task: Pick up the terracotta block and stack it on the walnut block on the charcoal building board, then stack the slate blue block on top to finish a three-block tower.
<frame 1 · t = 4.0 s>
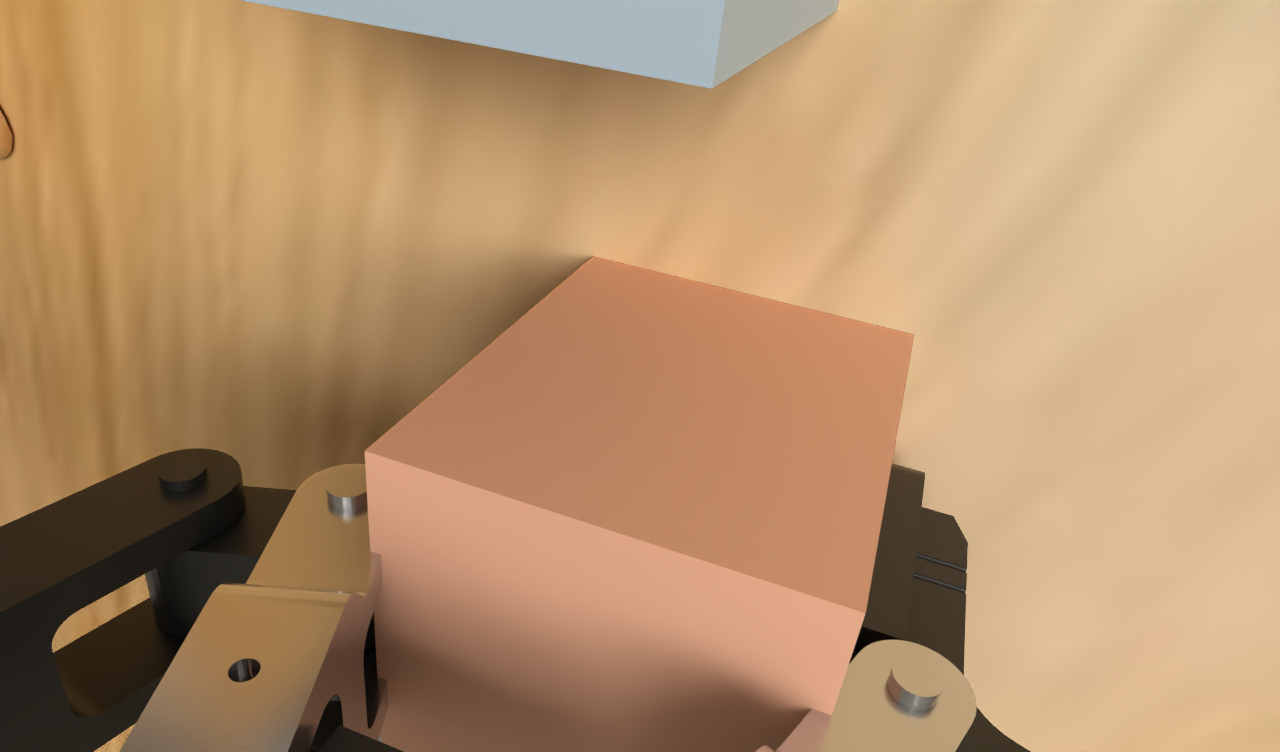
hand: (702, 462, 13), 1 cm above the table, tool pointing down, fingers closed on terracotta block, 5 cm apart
terracotta block: (720, 431, 14), on the table, touching gripper
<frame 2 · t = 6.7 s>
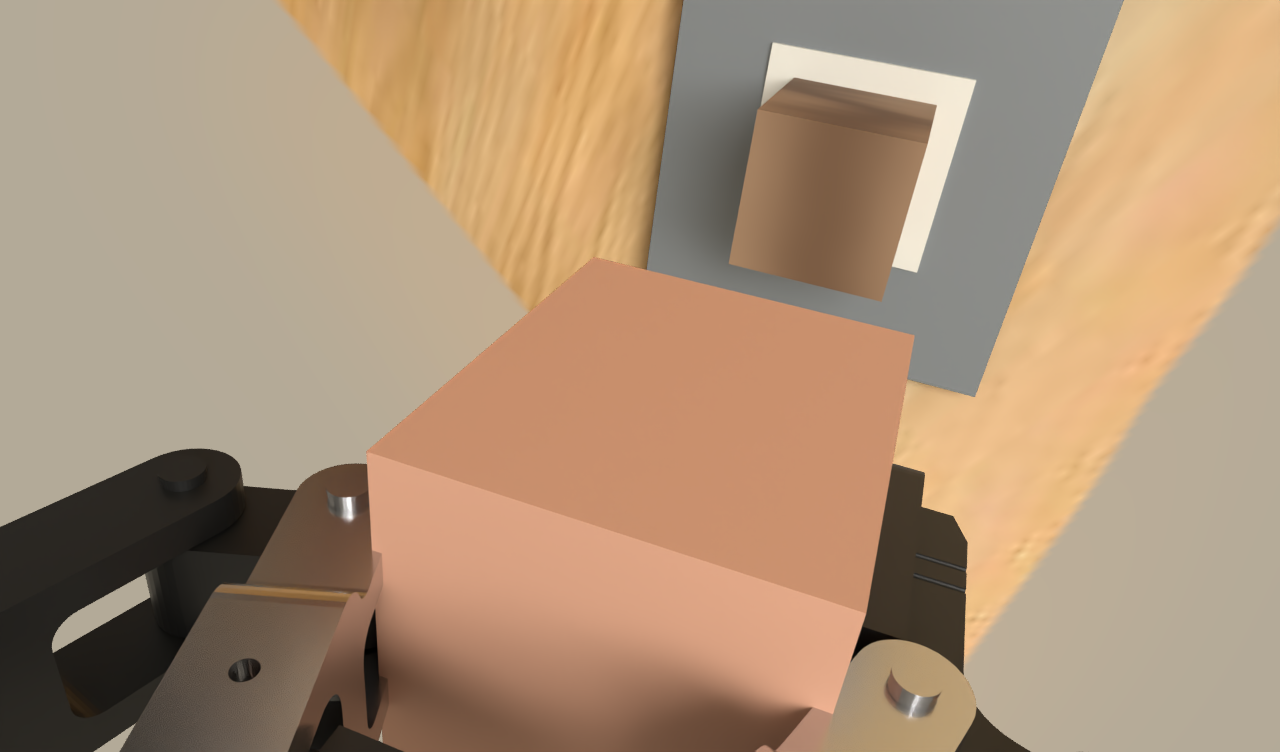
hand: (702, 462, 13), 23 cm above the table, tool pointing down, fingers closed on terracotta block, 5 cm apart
walnut block: (847, 161, 31), point 1 cm above the table, touching building board
building board: (851, 152, 33), on the table
terracotta block: (720, 431, 14), point 22 cm above the table, touching gripper
when the fingers open (10 cm above the table, at t = 9.6 s): terracotta block drops 1 cm, resting on walnut block.
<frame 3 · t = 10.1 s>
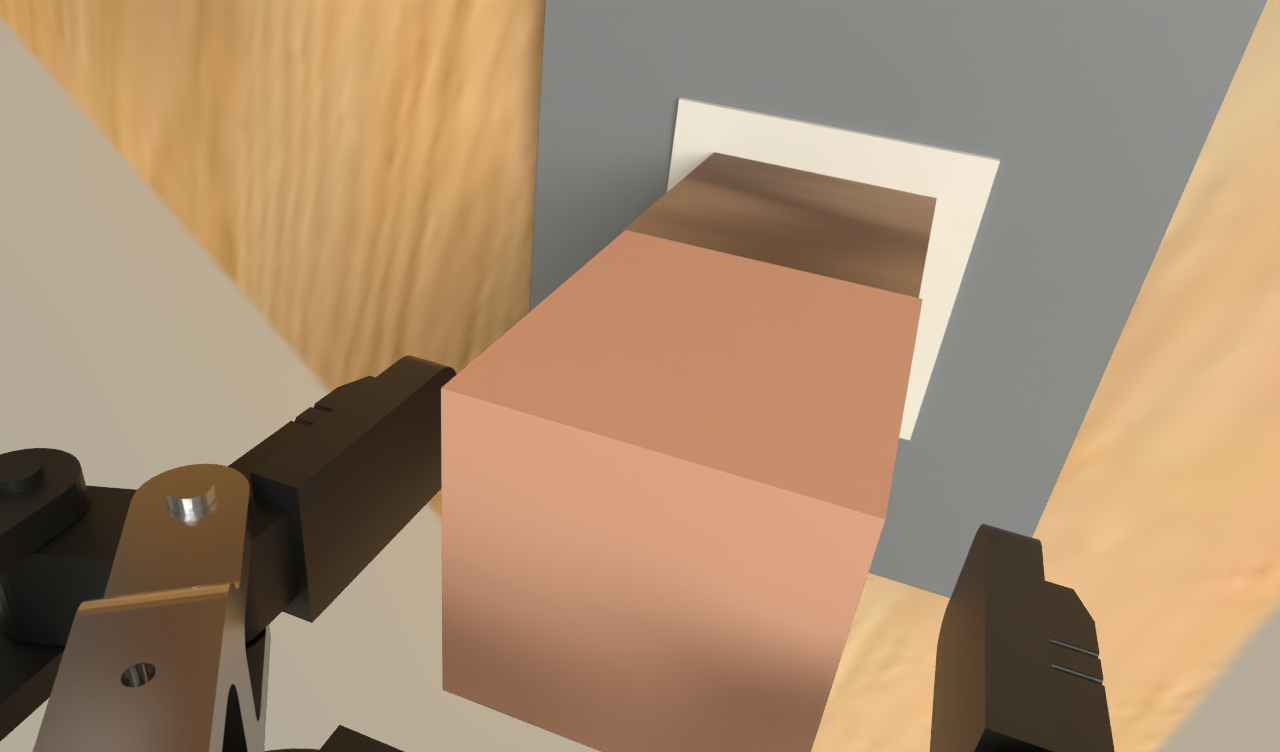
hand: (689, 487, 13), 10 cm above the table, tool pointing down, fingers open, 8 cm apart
walnut block: (799, 277, 20), point 1 cm above the table, touching building board, terracotta block
building board: (809, 258, 22), on the table
terracotta block: (742, 392, 15), point 7 cm above the table, touching walnut block
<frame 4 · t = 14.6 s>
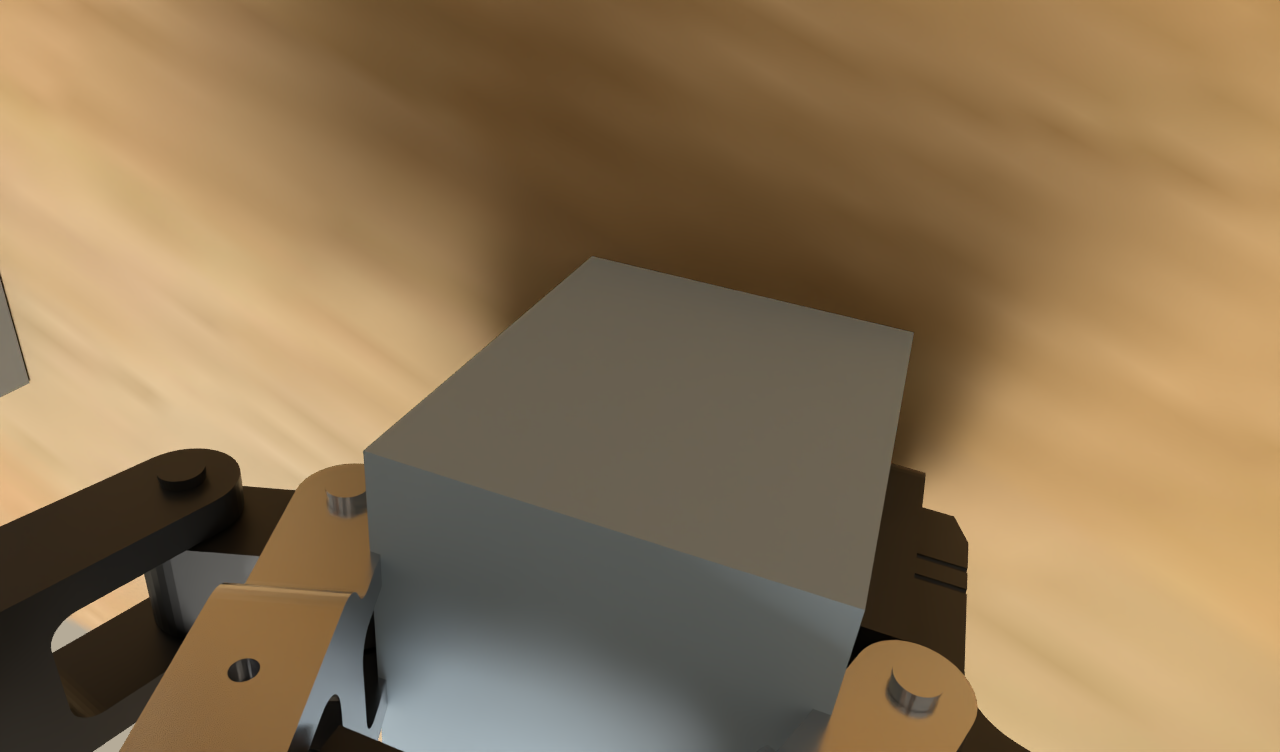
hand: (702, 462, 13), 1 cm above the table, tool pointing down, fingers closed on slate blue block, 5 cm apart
slate blue block: (720, 430, 14), on the table, touching gripper
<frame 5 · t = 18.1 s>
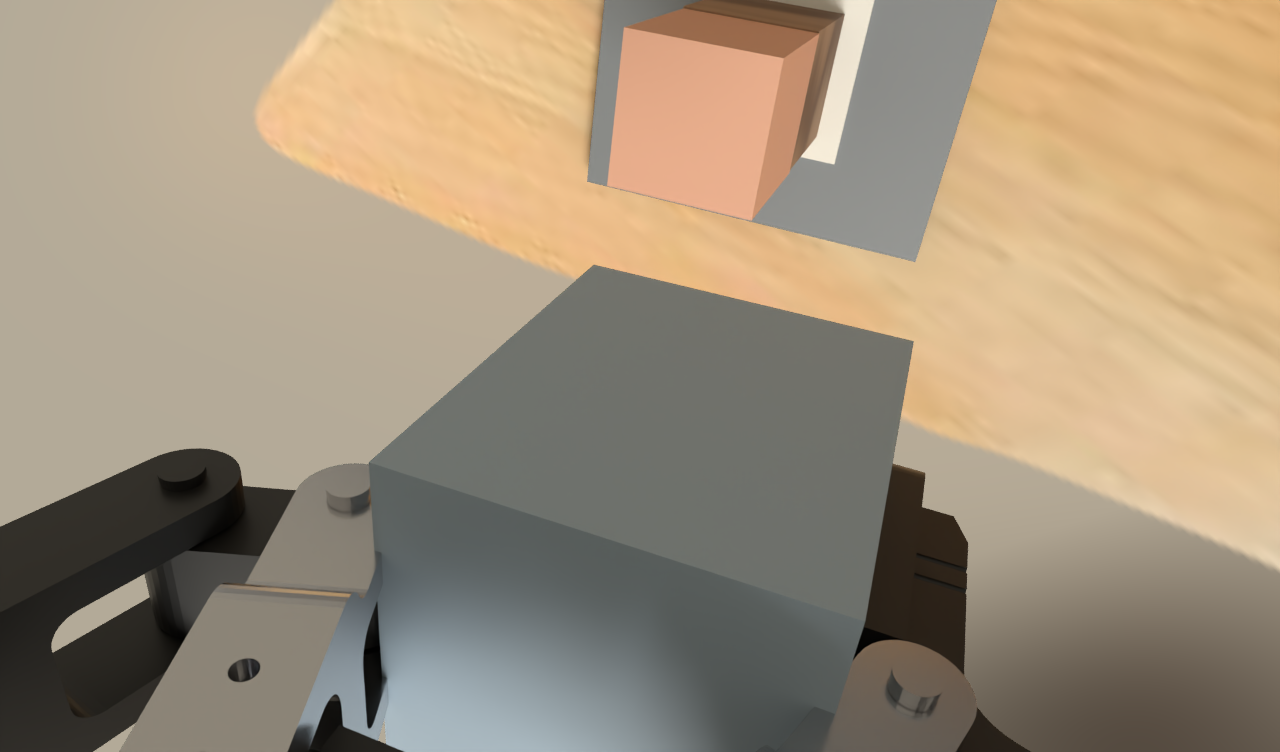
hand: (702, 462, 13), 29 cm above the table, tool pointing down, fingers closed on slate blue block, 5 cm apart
walnut block: (772, 66, 37), point 1 cm above the table, touching building board, terracotta block
slate blue block: (721, 437, 14), point 28 cm above the table, touching gripper
building board: (779, 61, 38), on the table
terracotta block: (737, 92, 32), point 7 cm above the table, touching walnut block
when the fingers open (16 cm above the table, at t = 21.4 s): slate blue block drops 1 cm, resting on terracotta block.
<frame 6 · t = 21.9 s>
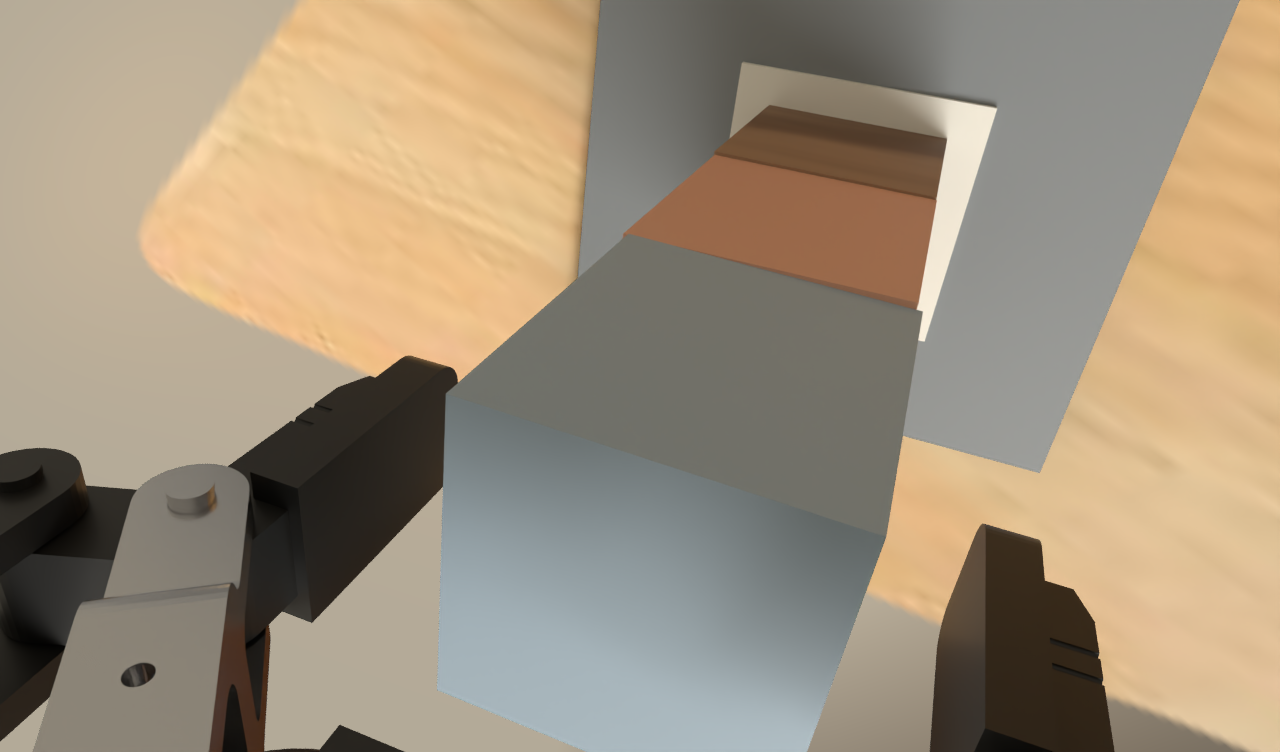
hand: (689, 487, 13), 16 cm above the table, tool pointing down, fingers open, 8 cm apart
walnut block: (836, 207, 25), point 1 cm above the table, touching building board, terracotta block
slate blue block: (740, 398, 16), point 13 cm above the table, touching terracotta block
building board: (843, 194, 27), on the table
terracotta block: (799, 279, 20), point 7 cm above the table, touching slate blue block, walnut block
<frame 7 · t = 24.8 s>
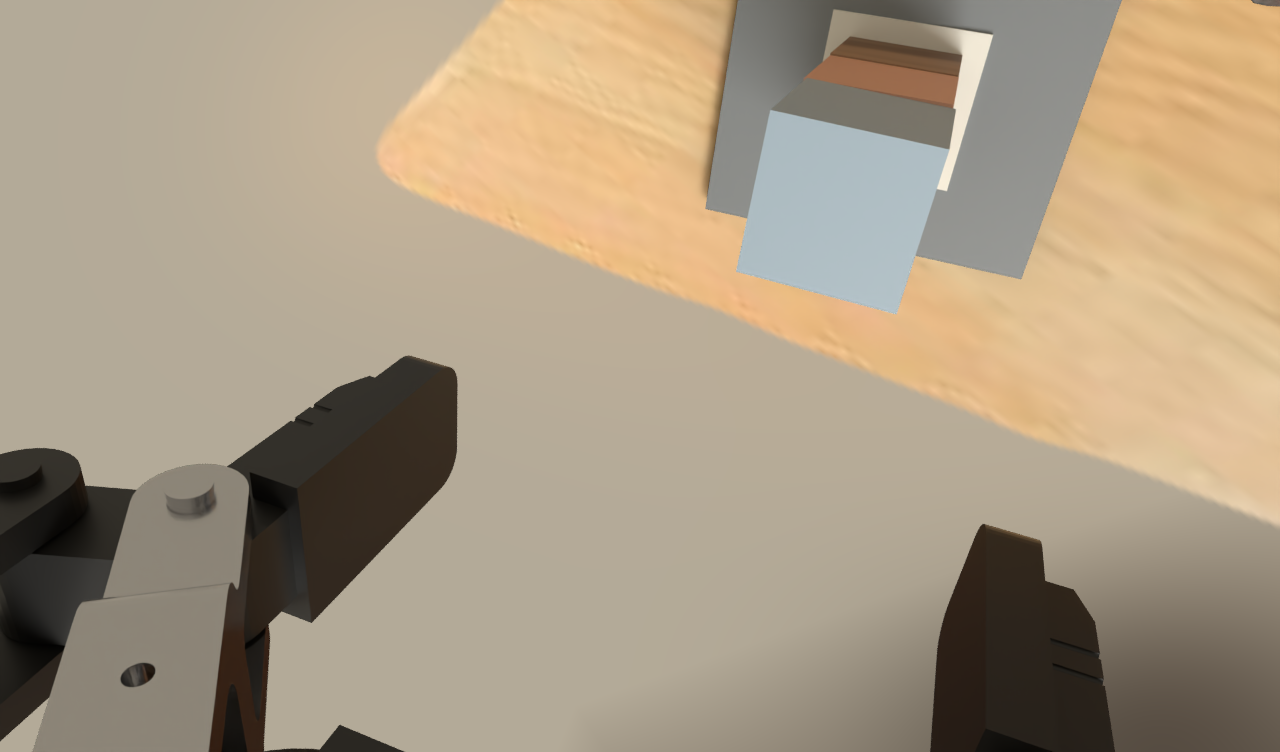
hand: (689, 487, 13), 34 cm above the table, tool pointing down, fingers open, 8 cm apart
walnut block: (891, 102, 40), point 1 cm above the table, touching building board, terracotta block
slate blue block: (860, 166, 30), point 13 cm above the table, touching terracotta block
building board: (894, 97, 41), on the table
terracotta block: (877, 129, 35), point 7 cm above the table, touching slate blue block, walnut block
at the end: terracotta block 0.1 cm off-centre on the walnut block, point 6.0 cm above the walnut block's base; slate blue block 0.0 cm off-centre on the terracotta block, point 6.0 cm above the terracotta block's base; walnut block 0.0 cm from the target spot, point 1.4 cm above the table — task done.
